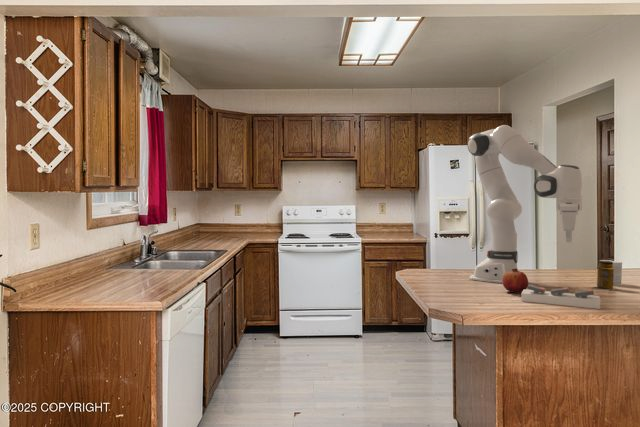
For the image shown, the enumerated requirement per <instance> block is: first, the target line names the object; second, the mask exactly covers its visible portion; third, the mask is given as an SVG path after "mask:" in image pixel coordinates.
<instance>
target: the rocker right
mask: <svg viewBox="0 0 640 427" xmlns="http://www.w3.org/2000/svg"><path fill="white" fill-rule="evenodd" d="M574 294H575V296H586V295H594V296H595V292H594V289H593V288H591V289H587V290H586V289H585V290H577V291H576V290H575V291H574Z"/></svg>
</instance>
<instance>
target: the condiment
mask: <svg viewBox="0 0 640 427" xmlns="http://www.w3.org/2000/svg"><path fill="white" fill-rule="evenodd" d="M612 261H613V260H611V261H598V266H597V278H596V279H597V280H596V286H591V287H590V288H591V289H593V290H600V291H606V292H607V291H613V290H617V288H616V287H614V286H613V278H614V277H613V275H614V268H613V262H612Z"/></svg>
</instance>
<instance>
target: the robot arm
mask: <svg viewBox="0 0 640 427" xmlns="http://www.w3.org/2000/svg"><path fill="white" fill-rule="evenodd" d="M467 150H468V152H469V153H470V154H471V155H472V156H475V157H474V162H475V166H476V167H475V168H476V170H477V174H478V177H479V179H480V182H481V185H482V187H483V190H484V193H486V195H487V196H488V197H489V199H490V201H491V202H490V203H489V204H488V205H487V208H486V214H487V215H488V217H489V225H490V230H491V249H489V250H487V252H486V253H487V254H486V256H487V257H486V258H485V259H483V260H482V261H481V262H479V263H478V264H476V265H475V268H474V272H473V274H470V275H469V279H470V280H471V281H477V282H480V281H481V282H487V283H495V284H496V283H497V284H503V282H502V279H503V276H504V274H505V273H507V272H509V271H512V269H518V260H519V253H518V250H517V248H518V247H517V246H518V245H517V243H518V242H517V240H518V239H517V238H518V234H517V232H516V227H515V221H514V220H516V219H518V218H519V217H520V215H521V213H522V211H523V207H522V205H521V203H520V202H519V200H518V198H517V196H516V194H515V193H514V191H513V189H512V187H511V186H510V184H509V182H508V179H507V176H506V175H505V172H504V169H503V166H502V165H501V163H500V159H499V156H500V154H501V155H502V156H503V157H504V158H505V159H506V160H507V161H509V162H510V163H512V164H515V165H519V166H523V167H527V168H531V169H534V170H535V171H536V172H538V173H539V174H540V175H539V176H538V177H537V178H535V180H534V184H533V190H534V193H535V194H536V195H537V196H538V197H540V198H545V199H556V211H559V212H560V213H559V216H560V215H561V223H562V230H563V231H565V241H566V243H572V236H573V232H574V231H575V226H576V222H577V221H576V219H577V216H578V215H579V212H580V211H582V209H583V207H582V206H583V199H582V198H583V197H582V190H583V179H582V170H581V168H580V167H579V166H576V165H570V164H560V165H558V166H556V165H555V164H554V163H552V161H551V160H550V159H548V158H547V157H546V156H545V155H544V154H542V153H540V152H539V150H537V149H536V148H535V147H533V145H532V144H531V143H529V142H528V141H527V140H526V139H525V138H524V137H523V136H522V135H521V134H520V133H519V132H518V131H517V130H516V129H514V128H513V127H512V126H509V125H507V124H502V125H499V126H498V127H496V128H491V129H488V130H485V131H482V132H477V133H475V134H472V135H471V136H470V137H469V138H468V140H467Z"/></svg>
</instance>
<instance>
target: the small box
mask: <svg viewBox="0 0 640 427" xmlns="http://www.w3.org/2000/svg"><path fill="white" fill-rule="evenodd" d="M599 261H612V262H613V268H614V275H613V277H614V278H613V287H614V286H615V287H617V286H622V278H623V277H622V276H623V262H619V261H614V260H610V259H609V260H608V259H600V260H599ZM599 261H598V262H599Z"/></svg>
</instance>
